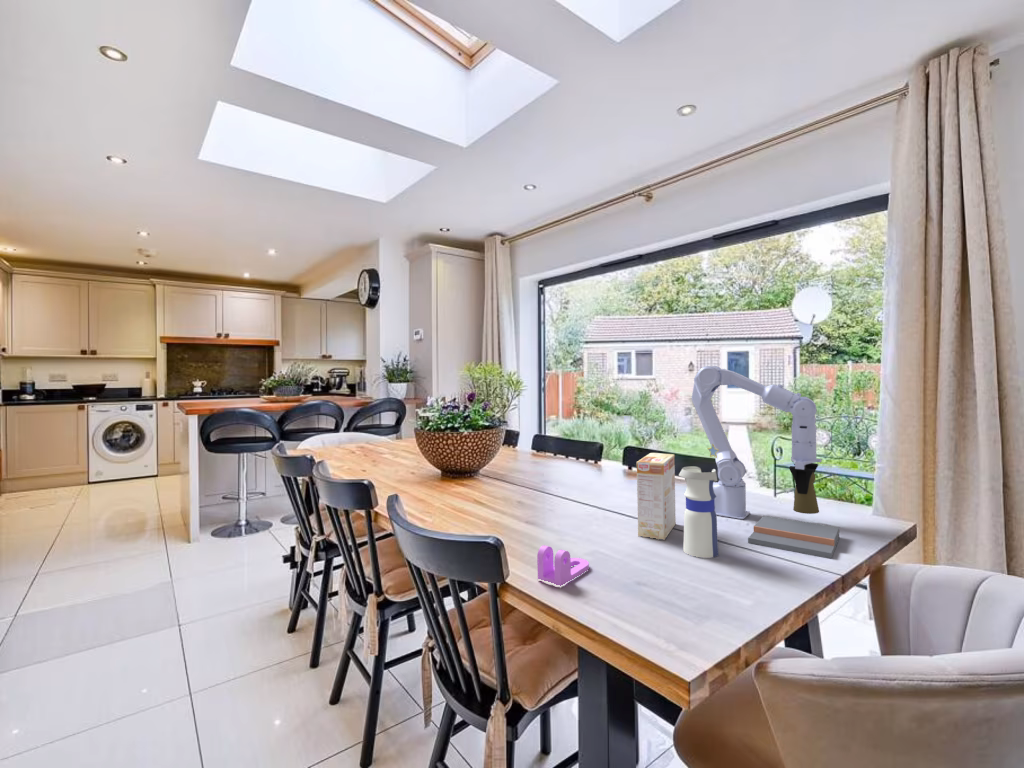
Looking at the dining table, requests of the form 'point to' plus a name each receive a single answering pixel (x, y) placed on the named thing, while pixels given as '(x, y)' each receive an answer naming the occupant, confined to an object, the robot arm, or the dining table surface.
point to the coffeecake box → (656, 495)
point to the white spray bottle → (700, 511)
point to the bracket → (559, 566)
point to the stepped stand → (795, 536)
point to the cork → (806, 499)
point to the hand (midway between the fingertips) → (804, 491)
